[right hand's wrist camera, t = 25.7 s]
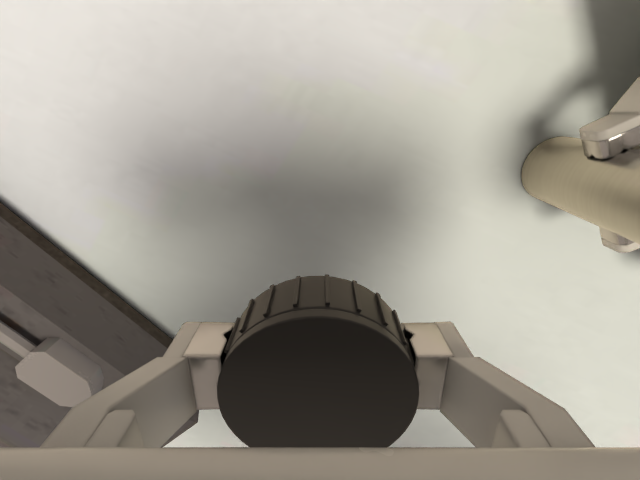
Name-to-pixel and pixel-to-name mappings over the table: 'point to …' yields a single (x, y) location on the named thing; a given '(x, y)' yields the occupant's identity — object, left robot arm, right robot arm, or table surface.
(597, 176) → the metal thermos flask
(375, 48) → the table surface
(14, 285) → the toy
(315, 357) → the lid
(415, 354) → the right robot arm
